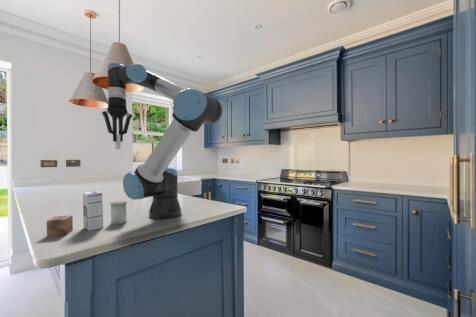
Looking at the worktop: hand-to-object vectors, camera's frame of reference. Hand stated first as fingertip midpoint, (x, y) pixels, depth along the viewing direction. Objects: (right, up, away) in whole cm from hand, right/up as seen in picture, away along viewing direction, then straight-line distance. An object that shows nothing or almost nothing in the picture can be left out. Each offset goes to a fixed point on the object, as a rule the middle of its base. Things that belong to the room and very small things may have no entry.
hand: (118, 148), depth 108 cm
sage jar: (+4, -33, -7) cm, 33 cm away
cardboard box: (-11, -33, -21) cm, 40 cm away
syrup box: (-3, -33, -14) cm, 36 cm away
